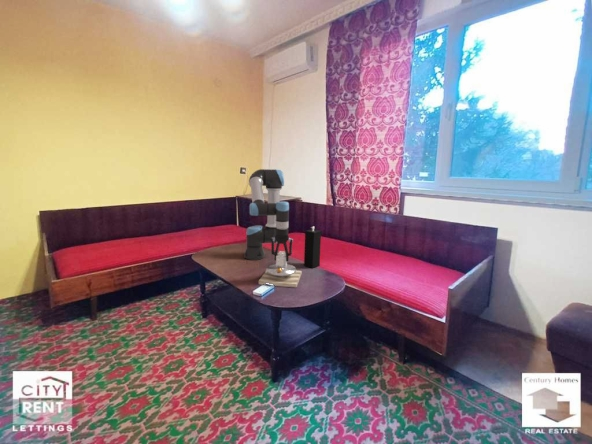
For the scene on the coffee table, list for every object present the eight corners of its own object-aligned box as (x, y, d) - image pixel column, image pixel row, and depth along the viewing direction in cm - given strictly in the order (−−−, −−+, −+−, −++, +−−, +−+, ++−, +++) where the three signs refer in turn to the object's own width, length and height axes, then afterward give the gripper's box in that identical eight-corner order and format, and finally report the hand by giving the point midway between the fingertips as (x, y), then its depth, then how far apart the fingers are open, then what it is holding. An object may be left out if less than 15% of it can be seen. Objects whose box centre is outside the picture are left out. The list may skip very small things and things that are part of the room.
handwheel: (270, 264, 186) (270, 248, 184) (298, 266, 184) (298, 250, 182) (262, 274, 169) (263, 256, 167) (293, 277, 166) (294, 259, 164)
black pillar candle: (303, 265, 202) (305, 226, 197) (311, 263, 208) (312, 224, 202) (312, 268, 197) (314, 227, 191) (319, 265, 202) (321, 226, 197)
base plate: (267, 271, 189) (267, 263, 188) (301, 273, 186) (301, 266, 185) (258, 284, 168) (258, 276, 167) (296, 287, 165) (296, 279, 164)
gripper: (265, 228, 169) (265, 267, 173) (295, 230, 166) (294, 269, 171) (269, 226, 176) (268, 263, 181) (297, 227, 174) (296, 265, 178)
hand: (281, 265), depth 176 cm, fingers closed on handwheel, 4 cm apart
